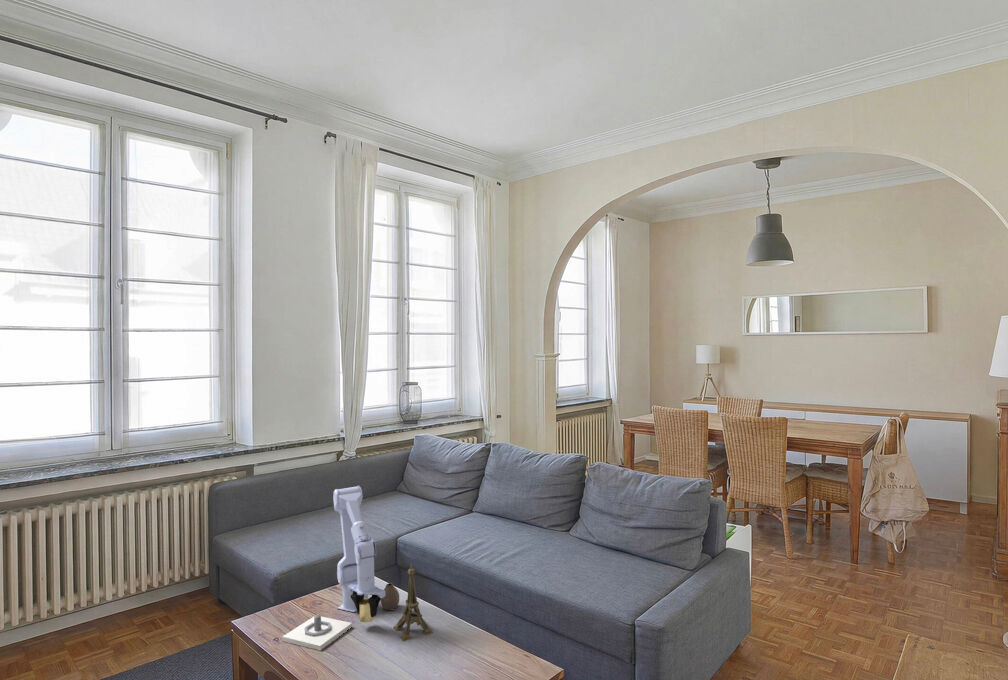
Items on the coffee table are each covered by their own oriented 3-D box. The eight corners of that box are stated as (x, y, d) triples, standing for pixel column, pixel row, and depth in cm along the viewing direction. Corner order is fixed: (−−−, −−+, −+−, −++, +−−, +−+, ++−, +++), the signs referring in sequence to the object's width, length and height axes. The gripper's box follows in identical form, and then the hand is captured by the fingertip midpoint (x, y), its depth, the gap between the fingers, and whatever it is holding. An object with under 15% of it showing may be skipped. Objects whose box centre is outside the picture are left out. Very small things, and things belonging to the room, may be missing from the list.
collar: (365, 614, 208) (365, 597, 208) (377, 616, 206) (377, 599, 206) (356, 620, 203) (356, 603, 203) (368, 623, 201) (368, 605, 201)
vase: (383, 614, 214) (383, 590, 214) (378, 606, 220) (377, 583, 220) (402, 609, 217) (401, 585, 217) (396, 602, 223) (395, 579, 223)
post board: (316, 619, 211) (315, 602, 211) (352, 627, 205) (351, 610, 205) (282, 641, 197) (281, 623, 197) (320, 650, 190) (319, 631, 190)
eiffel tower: (393, 627, 204) (391, 555, 204) (422, 620, 209) (420, 549, 209) (402, 641, 195) (400, 566, 194) (432, 633, 200) (430, 559, 199)
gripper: (341, 577, 204) (342, 616, 204) (376, 583, 198) (377, 623, 198) (354, 569, 210) (355, 607, 210) (388, 575, 204) (389, 614, 204)
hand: (367, 614), depth 205 cm, fingers closed on collar, 5 cm apart
